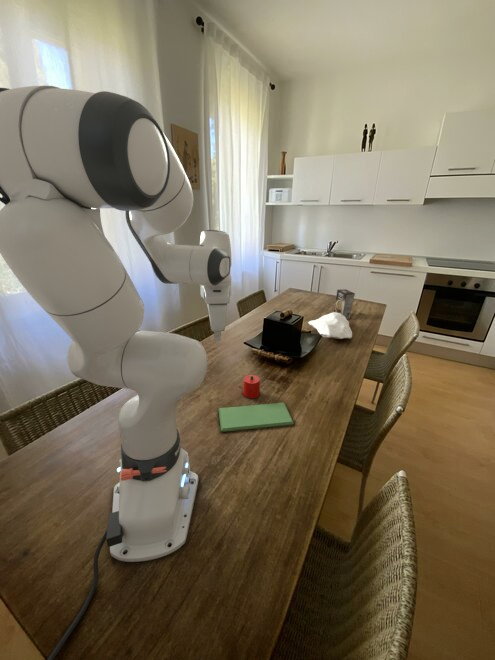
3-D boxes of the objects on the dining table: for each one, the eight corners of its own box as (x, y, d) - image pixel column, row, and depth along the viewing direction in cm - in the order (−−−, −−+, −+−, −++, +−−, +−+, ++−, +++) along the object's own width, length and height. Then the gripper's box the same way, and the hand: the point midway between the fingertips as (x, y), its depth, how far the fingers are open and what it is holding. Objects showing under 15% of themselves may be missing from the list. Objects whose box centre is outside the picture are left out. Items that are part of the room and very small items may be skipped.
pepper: (260, 397, 97) (261, 379, 94) (244, 398, 96) (245, 380, 93) (257, 388, 102) (258, 370, 99) (242, 389, 101) (242, 371, 98)
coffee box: (332, 314, 177) (336, 289, 171) (341, 313, 179) (345, 288, 173) (341, 319, 169) (345, 293, 163) (350, 318, 171) (355, 292, 165)
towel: (293, 424, 85) (293, 422, 84) (221, 432, 81) (221, 429, 81) (284, 403, 94) (284, 401, 94) (218, 409, 90) (218, 407, 90)
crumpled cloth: (298, 338, 139) (303, 321, 135) (314, 316, 168) (318, 302, 164) (346, 354, 132) (352, 338, 128) (353, 328, 161) (359, 314, 157)
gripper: (204, 281, 89) (205, 322, 95) (205, 299, 71) (206, 348, 76) (224, 281, 90) (224, 321, 96) (230, 299, 72) (230, 347, 77)
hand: (216, 334), depth 86 cm, fingers open, 8 cm apart
